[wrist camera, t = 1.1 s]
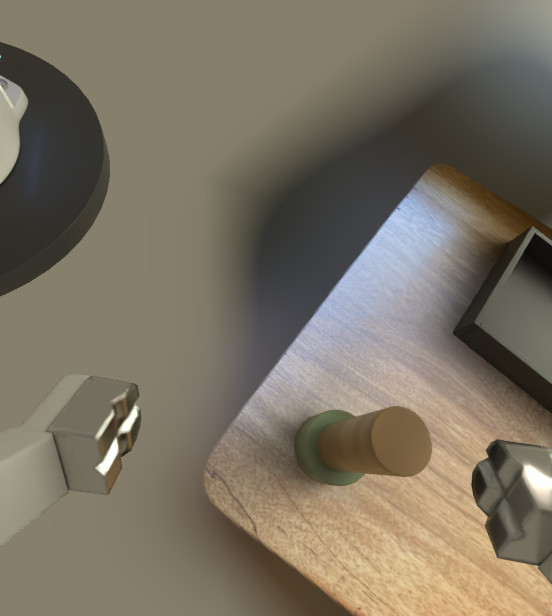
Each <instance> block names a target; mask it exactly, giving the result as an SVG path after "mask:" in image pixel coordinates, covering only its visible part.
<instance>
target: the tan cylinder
mask: <svg viewBox="0 0 552 616" xmlns="http://www.w3.org/2000/svg"><path fill="white" fill-rule="evenodd" d="M431 454H432V439H431V435H430V432H429V429H428V427H427V426H426V424H425V422H424V421H423V420H422V419H421V417H419V416H418V415H417V414H416V413H415V412H413V411H411V410H410V409H407V408H404V407H399V406H394V407H389V408H385V409H382V410H378V411H375V412H371V413H368V414H364V415H360V416H357V417H355V416H354V415H352V414H351V413H348V412H346V411H342V410H330V411H326V412H323V413H321V414H318V415H316V416H313V417H311V418H309V419H308V420H307V421H305V422H304V423H303V425H302V426H301V427H300V429H299V431H298V433H297V435H296V439H295V455H296V459H297V462H298V464H299V466H300V468H301V469H302V470H303V472H304V473H305V474H306V475H307V476H308V477H310V478H311V479H313V480H315V481H317V482H320V483H324V484H330V485H335V486H346V485H350V484H353V483H355V482H356V481H358V480H359V479H360V478H361V477H362V476H363V475H364V474H377V475H389V476H401V477H409V476H413V475H416V474H418V473H420V472H421V471H422V470H423V469H424V468H425V467H426V466H427V464H428V462H429V460H430V458H431Z"/></svg>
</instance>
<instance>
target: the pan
mask: <svg viewBox="0 0 552 616" xmlns="http://www.w3.org/2000/svg"><path fill="white" fill-rule="evenodd" d="M453 334H454V335H456V336H457V337H458V338H459V339H460V340H462V341H463V342H464V343H465V344H467V345H468V346H469V347H470V348H472V349H473V350H474V351H475V352H477V353H478V354H479V355H480V356H482V357H483V358H484V359H485V360H487V361H488V362H489V363H490V364H492V365H493V366H494V367H495V368H497V369H498V370H499V371H500V372H501V373H503V374H504V375H505V376H506V377H508V378H509V379H510V380H511V381H513V382H514V383H515V384H516V385H518V386H519V387H520V388H521V389H523V390H524V391H525V392H526V393H528V394H529V395H530V396H531V397H533V398H534V399H535V400H536V401H538V402H539V403H540V404H541V405H542V406H544V407H545V408H546V409H547V410H549V411H550V412H551V413H552V241H551V240H550V239H548V238H547V237H546V236H544V235H543V234H542V233H540V232H539V231H538V230H536V229H535V228H534V227H530V228H529V229H527V230H526V231H524V232H523V233H522V234H520V235H519V236H517V237H516V238H514V239H513V240H512V241H510V242H509V244H508V246H507V247H506V249H505V250H504V252H503V253H502V255H501V257H500V258H499V260H498V261H497V263H496V265H495V266H494V268H493V269H492V271H491V272H490V274H489V276H488V277H487V279H486V280H485V282H484V284H483V285H482V287H481V288H480V290H479V292H478V293H477V295H476V296H475V298H474V299H473V301H472V303H471V304H470V306H469V307H468V309H467V311H466V312H465V314H464V315H463V317H462V318H461V320H460V322H459V323H458V325H457V326H456V328H455V330H454V331H453Z"/></svg>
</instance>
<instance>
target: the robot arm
mask: <svg viewBox="0 0 552 616" xmlns="http://www.w3.org/2000/svg"><path fill="white" fill-rule="evenodd" d="M27 105H28V98H27V97H26V95H25V93H24V92H23V90H22V89H21V88H20V87H19V86H18V85H16V84H15V83H13V82H11V81H9V80H8V79H6V78H4V77H2V76H1V75H0V184H1V183H2V182H3V181H4V180H5V178H6V177H7V176H8V175H9V173H10V172H11V170H12V168H13V167H14V165H15V163H16V160H17V157H18V154H19V149H20V135H19V122H20V120H21V118H22V116H23V114H24V113H25V111H26V108H27ZM138 397H139V392H138V386H137V385H136V384H134V383H129V382H123V381H118V380H113V379H107V378H102V377H95V376H88V375H83V374H77V373H68V374H66V375H64V376H63V377H62V378H61V380H60V381H59V382H58V383H57V384H56V385H55V386H54V387H53V389H52V390H51V391H50V392H49V393H48V394H47V395H46V397H45V398H44V399H43V400H42V401H41V402H40V403H39V405H38V406H37V407H36V408H35V409H34V410H33V411H32V413H31V414H30V415H29V416H28V417H27V418H26V419H25V421H24V422H23V423H22V424H21V425H20V426H19V427H12V426H11V427H9V428H7V429H5V430H3V431H1V432H0V547H1V546H2V545H3V544H5V543H6V542H7V541H8V540H10V539H11V538H12V537H13V536H14V535H16V534H17V533H18V532H20V531H21V530H22V529H23V528H25V527H26V526H27V525H28V524H29V523H31V522H32V521H34V520H35V519H36V518H37V517H39V516H40V515H41V514H42V513H44V512H45V511H46V510H47V509H49V508H50V507H51V506H52V505H54V504H55V503H56V502H57V501H59V500H60V499H61V498H62V497H64V496H65V495H66V494H67V493H68V490H72V491H79V492H87V493H95V494H102V495H109V493H110V491H111V489H112V487H113V485H114V483H115V481H116V479H117V477H118V475H119V473H120V471H121V469H122V462H121V457H122V456H124V455H125V454H127V453H128V452H130V451H131V450H132V448H133V445H134V443H135V441H136V439H137V436H138V432H139V429H140V423H141V422H140V421H141V410H140V409H139V408H138V407H137V405H135V402H136V401H137V399H138ZM486 452H487V454H488V457H489V458H487V459H485V460H483V461H481V462H479V463H478V464H477V465H476V467H475V469H474V471H473V473H472V483H471V485H472V491H473V496H474V498H475V501H476V504H477V506H478V507H479V508H480V509H481V510H482V511H483V512H484V513H485V514H486V515H487V516H488V518H487V521H486V524H485V528H486V530H487V533H488V535H489V538H490V540H491V543H492V546H493V548H494V551H495V553H496V556H497V558H500V559H505V560H510V561H516V562H521V563H526V564H531V565H537V566H539V567H538V569H539V570H540V571H541V572H542V573H543V575H544V576H545V577H546V578H547V579H548V581H549V582H550V583H551V584H552V448H551V447H544V446H542V447H541V446H538V445H531V444H524V443H517V442H510V441H504V440H495V441H493V442H491V443H490V445H489V446H488V448H487V449H486Z"/></svg>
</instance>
